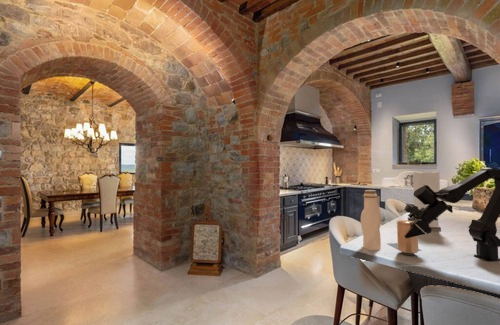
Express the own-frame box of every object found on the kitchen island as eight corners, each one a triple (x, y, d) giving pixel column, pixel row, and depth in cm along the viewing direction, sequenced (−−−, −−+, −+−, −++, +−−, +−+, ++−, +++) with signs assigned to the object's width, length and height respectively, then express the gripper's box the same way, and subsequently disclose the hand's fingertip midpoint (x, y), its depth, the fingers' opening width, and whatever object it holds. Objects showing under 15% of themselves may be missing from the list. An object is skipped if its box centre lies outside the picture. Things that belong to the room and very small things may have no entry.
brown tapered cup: (422, 252, 112) (421, 223, 112) (405, 253, 111) (404, 224, 111) (410, 247, 119) (409, 219, 119) (394, 247, 119) (393, 220, 119)
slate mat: (422, 251, 119) (422, 250, 119) (401, 252, 119) (401, 251, 119) (405, 243, 131) (405, 242, 131) (386, 244, 131) (386, 243, 131)
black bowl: (416, 256, 113) (416, 249, 113) (406, 256, 113) (405, 249, 113) (409, 252, 118) (408, 245, 118) (399, 253, 118) (398, 246, 118)
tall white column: (440, 231, 154) (439, 172, 154) (420, 229, 157) (418, 172, 157) (433, 226, 164) (432, 171, 165) (414, 225, 168) (413, 171, 168)
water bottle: (365, 243, 132) (363, 189, 133) (384, 246, 127) (383, 189, 127) (359, 248, 125) (357, 190, 125) (379, 252, 119) (377, 191, 119)
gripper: (412, 195, 123) (386, 217, 127) (421, 201, 105) (391, 226, 110) (432, 213, 120) (405, 235, 124) (445, 221, 102) (413, 246, 106)
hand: (403, 235), depth 116 cm, fingers closed on brown tapered cup, 8 cm apart
